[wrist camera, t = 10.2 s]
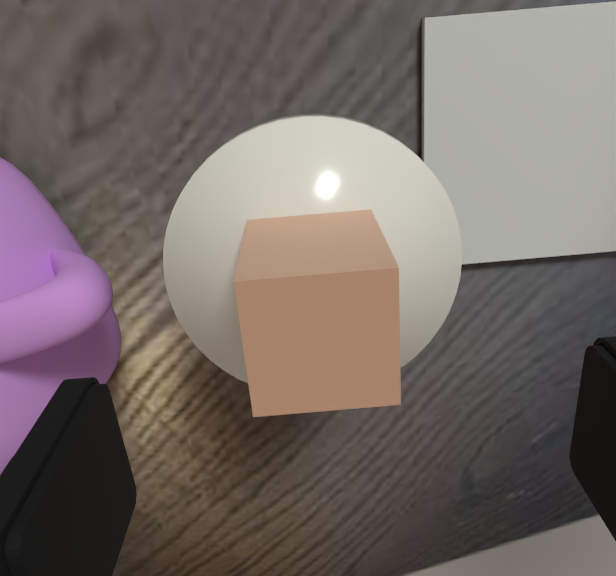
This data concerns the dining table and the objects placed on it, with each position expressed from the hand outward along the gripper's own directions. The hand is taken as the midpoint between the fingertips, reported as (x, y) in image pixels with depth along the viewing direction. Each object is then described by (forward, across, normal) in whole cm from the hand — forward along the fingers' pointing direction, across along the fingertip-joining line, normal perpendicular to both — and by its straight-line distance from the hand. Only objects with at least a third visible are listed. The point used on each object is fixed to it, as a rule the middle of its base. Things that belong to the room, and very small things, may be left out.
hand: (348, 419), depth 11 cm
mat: (+22, -12, 0) cm, 25 cm away
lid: (+10, 0, 0) cm, 10 cm away
